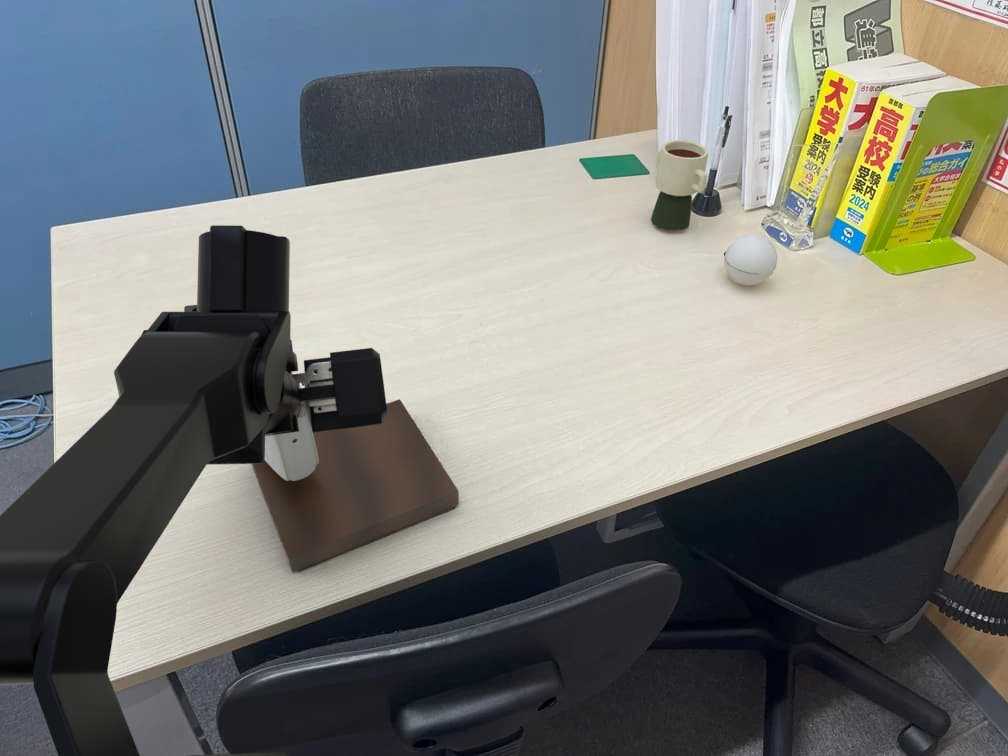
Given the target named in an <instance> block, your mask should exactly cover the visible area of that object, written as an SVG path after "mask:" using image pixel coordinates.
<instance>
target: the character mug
mask: <svg viewBox="0 0 1008 756" xmlns="http://www.w3.org/2000/svg"><path fill="white" fill-rule="evenodd" d="M708 158H709V151H708V148H707V147H706V146H704V145H703V144H701V143H699V142H695V141H689V140H681V139H680V140H678V139H676V140H669V141H667V142H664V143H663V145H662V146H661V147H660V148H659V149H658V151H657V155H656V161H655V167H656V168H657V169H656V176H655V186H656V188H657V189H658V190H659V194H658V196H657V198H656V202H655V205H654V207H653V211H652V214H651V217H650V220H651V223H652V225H654V226H655V227H656V228H658V229H662V230H666V231H679V230H685V229H688V228H689V226H690V223H691V217H692V215H691V214H692V205H693V204H692V202H693V195H694V194H696V193H699V194H703V193H704V192H705V189H706V185H707V180H708V173H707V172H706V170H707V169H706V168H707V161H708Z"/></svg>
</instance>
